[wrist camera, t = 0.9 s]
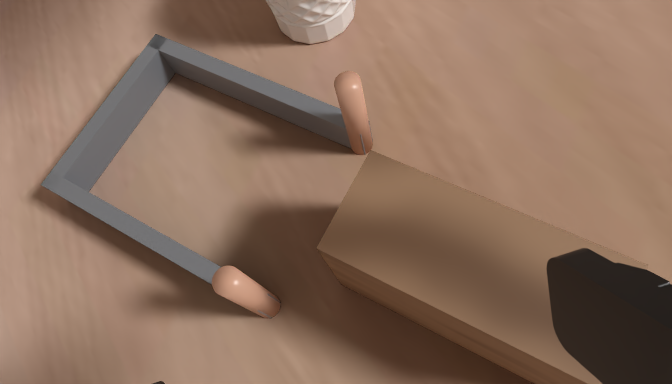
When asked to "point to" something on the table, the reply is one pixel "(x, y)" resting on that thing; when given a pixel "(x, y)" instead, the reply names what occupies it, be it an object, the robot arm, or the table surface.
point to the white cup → (312, 18)
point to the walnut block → (456, 266)
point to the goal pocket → (171, 57)
